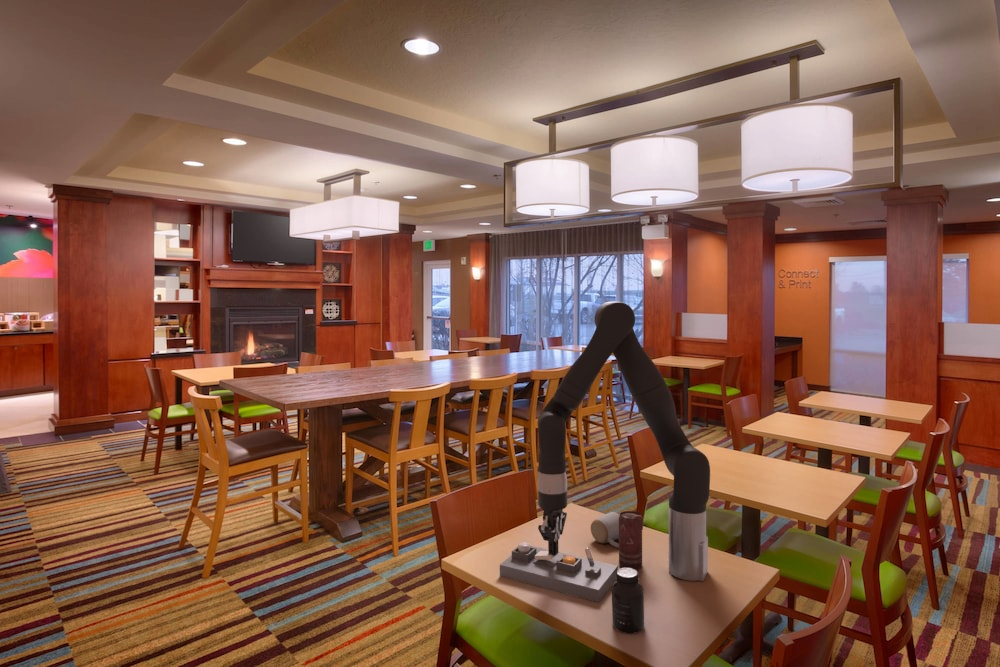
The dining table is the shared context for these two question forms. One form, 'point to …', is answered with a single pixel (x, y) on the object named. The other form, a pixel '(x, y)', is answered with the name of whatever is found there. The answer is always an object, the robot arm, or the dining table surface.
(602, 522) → the ceramic mug
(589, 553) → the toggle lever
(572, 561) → the orange button
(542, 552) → the rocker switch
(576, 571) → the control panel
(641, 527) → the can
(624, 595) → the supplement bottle
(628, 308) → the robot arm
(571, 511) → the dining table surface
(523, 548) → the grey button
